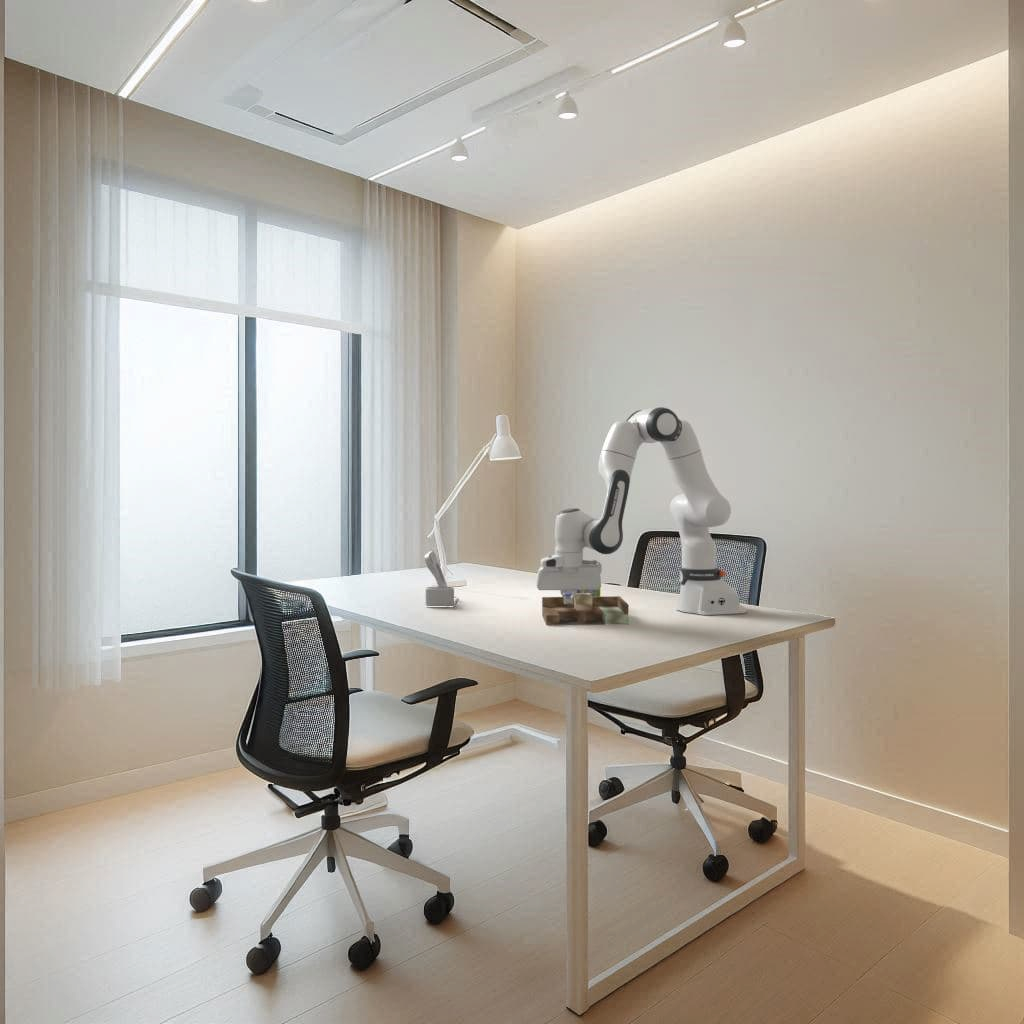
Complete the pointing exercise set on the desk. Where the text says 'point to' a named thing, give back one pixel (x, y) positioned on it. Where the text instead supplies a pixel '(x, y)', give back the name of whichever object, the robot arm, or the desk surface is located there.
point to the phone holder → (442, 592)
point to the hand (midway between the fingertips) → (568, 604)
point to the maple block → (583, 601)
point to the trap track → (585, 611)
